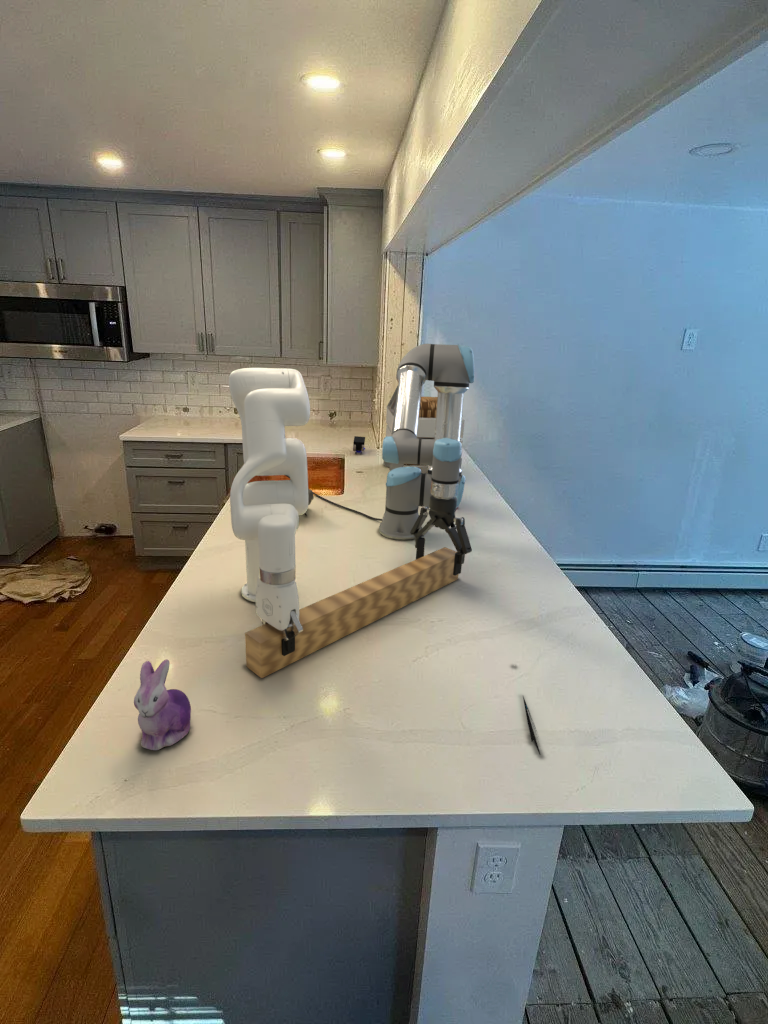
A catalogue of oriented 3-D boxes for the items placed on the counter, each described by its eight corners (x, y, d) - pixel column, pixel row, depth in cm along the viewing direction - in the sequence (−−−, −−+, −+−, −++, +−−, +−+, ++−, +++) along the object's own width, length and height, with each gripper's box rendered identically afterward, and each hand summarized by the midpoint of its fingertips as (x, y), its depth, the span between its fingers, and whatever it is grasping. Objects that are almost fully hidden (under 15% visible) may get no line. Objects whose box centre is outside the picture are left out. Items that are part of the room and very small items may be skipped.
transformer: (382, 463, 289) (386, 382, 275) (445, 464, 293) (451, 384, 279) (390, 482, 257) (394, 392, 243) (460, 483, 261) (468, 394, 247)
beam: (442, 572, 172) (444, 546, 169) (457, 579, 168) (460, 552, 165) (246, 666, 123) (244, 632, 121) (261, 678, 120) (260, 643, 117)
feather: (514, 670, 128) (520, 664, 128) (540, 759, 101) (547, 752, 101) (508, 666, 128) (514, 660, 127) (532, 755, 101) (539, 747, 101)
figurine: (141, 761, 97) (132, 687, 92) (135, 723, 105) (126, 654, 100) (198, 744, 101) (192, 673, 96) (188, 709, 110) (182, 642, 104)
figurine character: (364, 457, 303) (365, 448, 317) (365, 444, 300) (365, 435, 313) (352, 457, 303) (353, 447, 316) (352, 444, 300) (353, 434, 313)
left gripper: (239, 565, 122) (242, 637, 128) (288, 593, 111) (289, 671, 117) (267, 555, 127) (270, 625, 133) (318, 581, 116) (317, 656, 122)
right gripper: (400, 488, 162) (397, 556, 168) (473, 509, 146) (465, 584, 152) (417, 483, 167) (413, 550, 174) (489, 504, 151) (481, 576, 158)
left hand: (279, 646), depth 125 cm, fingers closed on beam, 5 cm apart
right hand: (437, 566), depth 163 cm, fingers open, 13 cm apart
